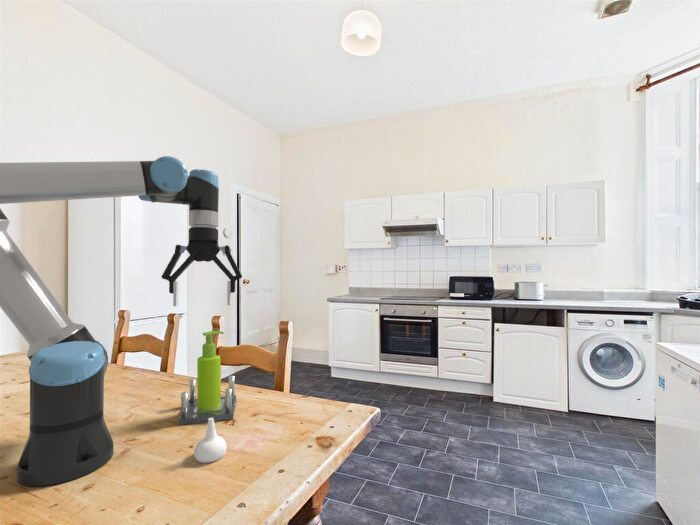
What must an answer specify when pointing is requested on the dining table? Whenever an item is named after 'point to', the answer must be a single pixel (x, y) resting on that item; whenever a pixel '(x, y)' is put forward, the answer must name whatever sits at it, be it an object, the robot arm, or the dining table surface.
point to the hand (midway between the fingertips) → (202, 305)
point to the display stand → (195, 415)
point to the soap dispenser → (209, 375)
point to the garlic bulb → (210, 445)
